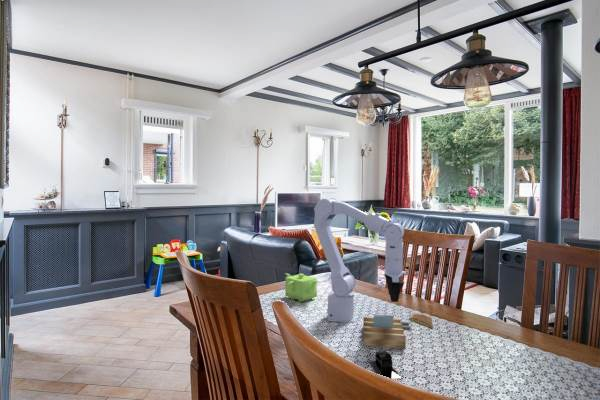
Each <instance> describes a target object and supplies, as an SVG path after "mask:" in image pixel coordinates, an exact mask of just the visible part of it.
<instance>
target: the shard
mask: <svg viewBox="0 0 600 400" xmlns="http://www.w3.org/2000/svg"><path fill="white" fill-rule="evenodd" d="M409 320H410V321H412V322H415V323H418V324H420V325H422V326H425V327H428V328H430V329H434V328H433V327H434V325H433V318H432V317H431V316H429V315H427V314H422V313H421V314H420V313H412V314H411V316H410V317H409Z"/></svg>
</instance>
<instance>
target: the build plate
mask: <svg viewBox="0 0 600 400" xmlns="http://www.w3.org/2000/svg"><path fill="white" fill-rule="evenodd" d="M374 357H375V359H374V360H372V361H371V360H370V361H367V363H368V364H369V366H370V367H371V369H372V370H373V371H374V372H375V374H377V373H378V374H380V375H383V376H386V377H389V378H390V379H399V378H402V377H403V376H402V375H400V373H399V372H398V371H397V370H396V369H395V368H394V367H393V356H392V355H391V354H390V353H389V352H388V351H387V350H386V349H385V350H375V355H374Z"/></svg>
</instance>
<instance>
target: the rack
mask: <svg viewBox="0 0 600 400" xmlns="http://www.w3.org/2000/svg"><path fill="white" fill-rule="evenodd" d="M362 319H363V325H362V326H363V327H362V328H363V346H365V347H378V348H392V349H406V344H407V342H406V338H407V335H406V334H405V331H404V330H405V329H402V324H400V322H401V318H394V317H393V328H383V327H373V316H363V318H362Z"/></svg>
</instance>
